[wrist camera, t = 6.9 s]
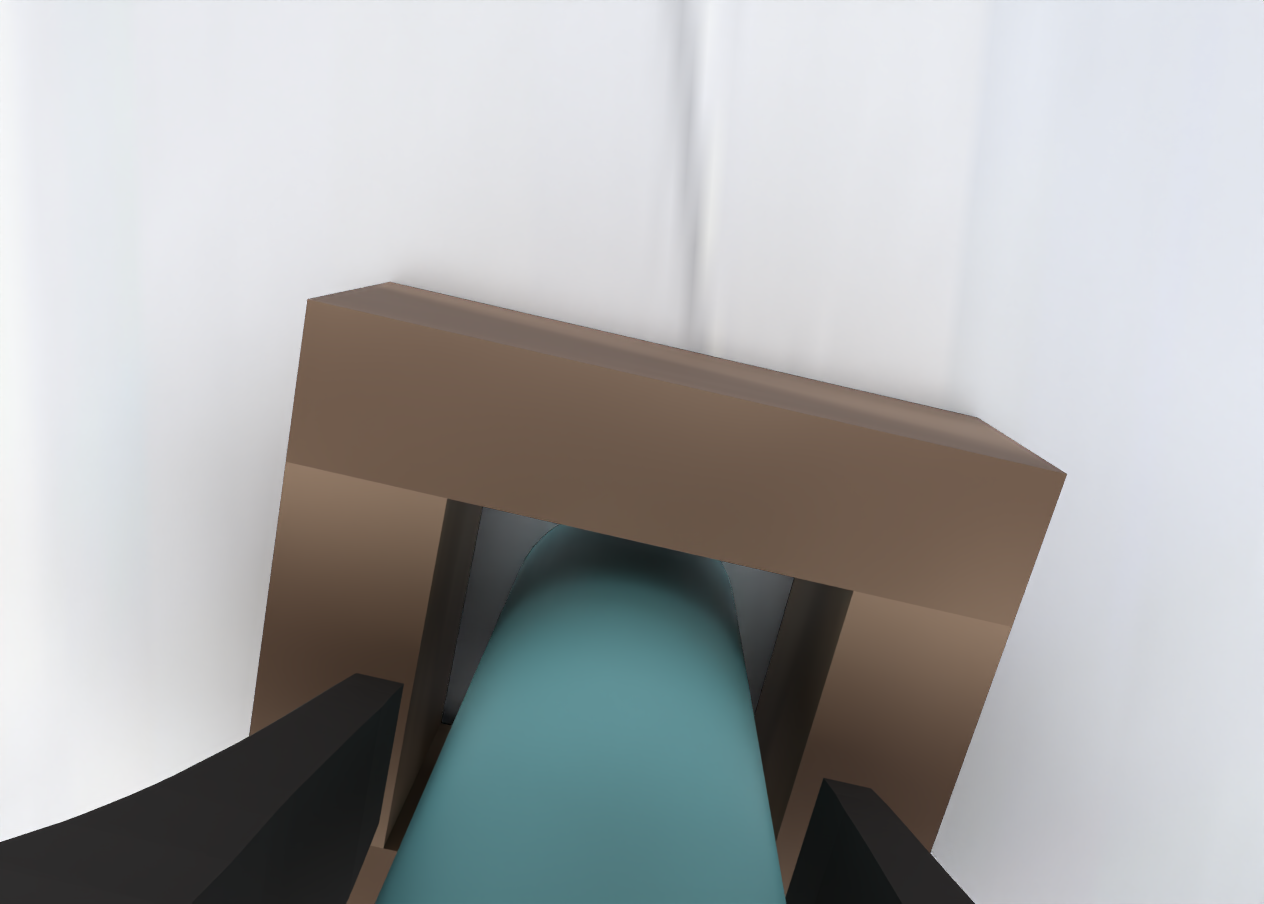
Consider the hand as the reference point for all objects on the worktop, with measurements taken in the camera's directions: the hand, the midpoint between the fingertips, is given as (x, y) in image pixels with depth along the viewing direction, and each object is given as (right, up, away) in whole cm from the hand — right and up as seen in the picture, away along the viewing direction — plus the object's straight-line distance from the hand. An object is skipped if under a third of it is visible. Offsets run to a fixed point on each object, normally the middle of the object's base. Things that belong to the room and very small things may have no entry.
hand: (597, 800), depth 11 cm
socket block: (0, +1, +5) cm, 5 cm away
